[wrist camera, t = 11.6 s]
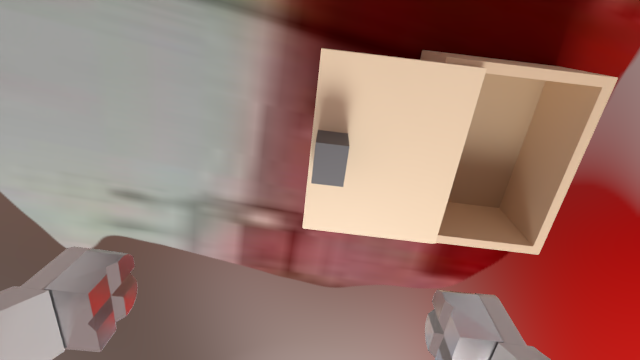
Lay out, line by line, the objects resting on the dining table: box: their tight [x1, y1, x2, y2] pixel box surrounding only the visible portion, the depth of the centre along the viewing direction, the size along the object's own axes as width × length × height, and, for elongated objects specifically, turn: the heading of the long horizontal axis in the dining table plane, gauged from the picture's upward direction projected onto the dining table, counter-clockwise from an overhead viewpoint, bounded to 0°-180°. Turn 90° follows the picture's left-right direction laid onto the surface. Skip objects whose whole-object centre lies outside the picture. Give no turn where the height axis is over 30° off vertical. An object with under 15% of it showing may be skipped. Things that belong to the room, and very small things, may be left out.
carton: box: [420, 50, 618, 255], centre depth 41 cm, size 20×16×10 cm
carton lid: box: [303, 48, 487, 244], centre depth 34 cm, size 19×15×5 cm
